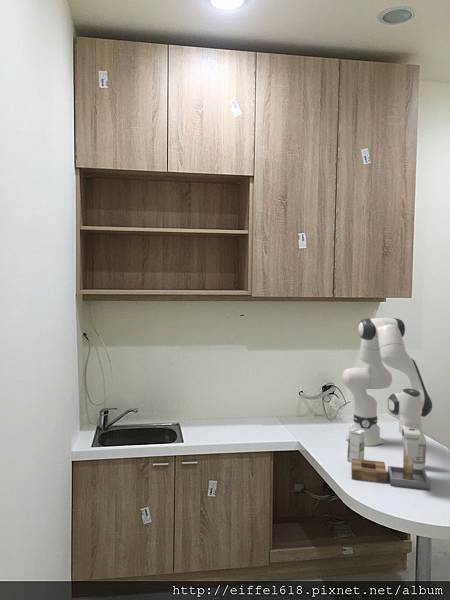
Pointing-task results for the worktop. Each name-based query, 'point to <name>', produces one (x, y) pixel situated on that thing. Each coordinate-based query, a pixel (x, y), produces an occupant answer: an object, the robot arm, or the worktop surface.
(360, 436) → the syrup box
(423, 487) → the tray
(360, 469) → the holder
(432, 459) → the worktop surface
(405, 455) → the dowel
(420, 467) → the bath foam
